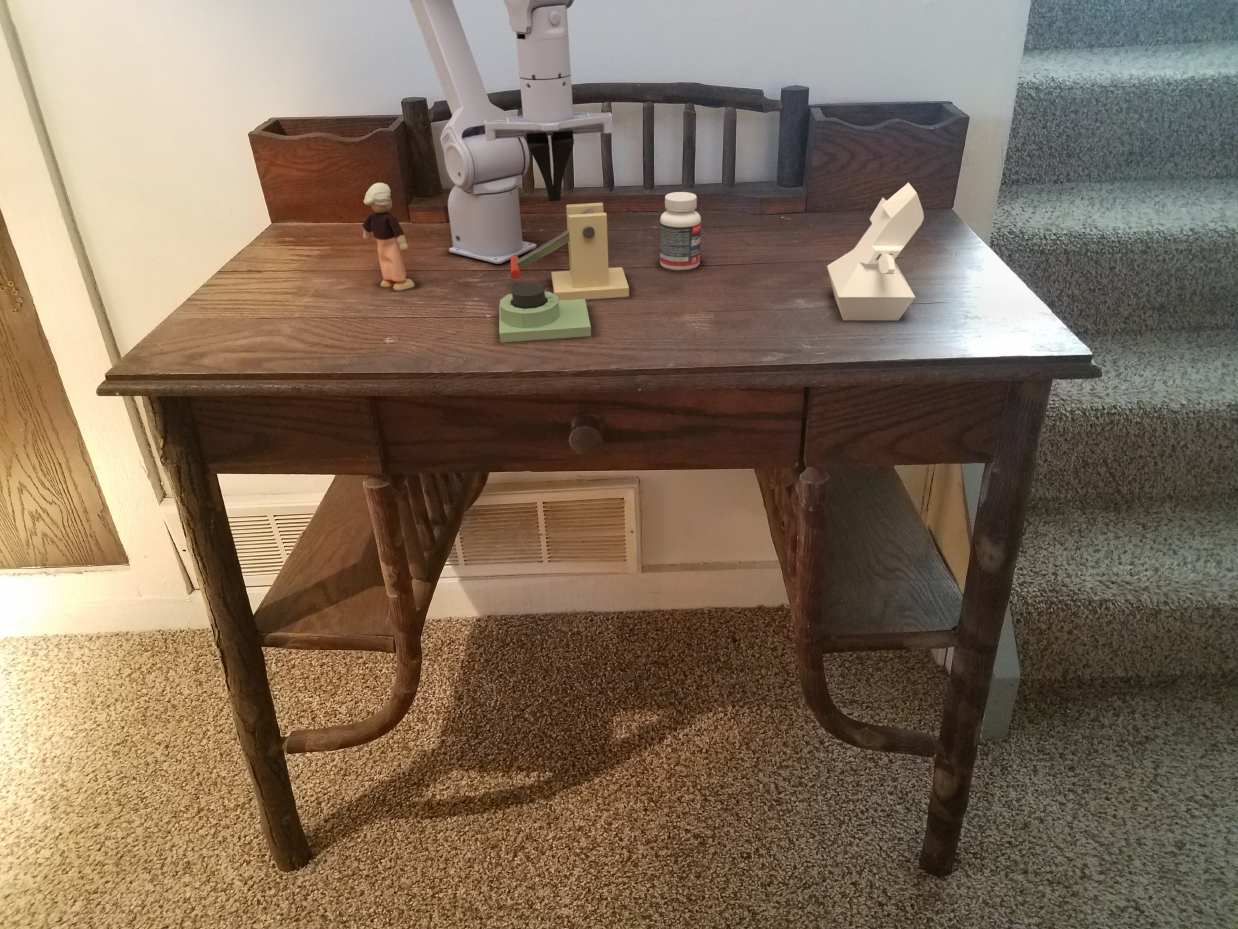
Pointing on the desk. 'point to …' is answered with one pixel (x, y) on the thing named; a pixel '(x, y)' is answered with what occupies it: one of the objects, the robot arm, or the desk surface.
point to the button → (528, 296)
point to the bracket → (588, 258)
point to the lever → (540, 251)
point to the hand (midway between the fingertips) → (554, 198)
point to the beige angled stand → (878, 262)
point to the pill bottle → (680, 232)
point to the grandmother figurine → (386, 237)
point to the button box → (543, 320)
